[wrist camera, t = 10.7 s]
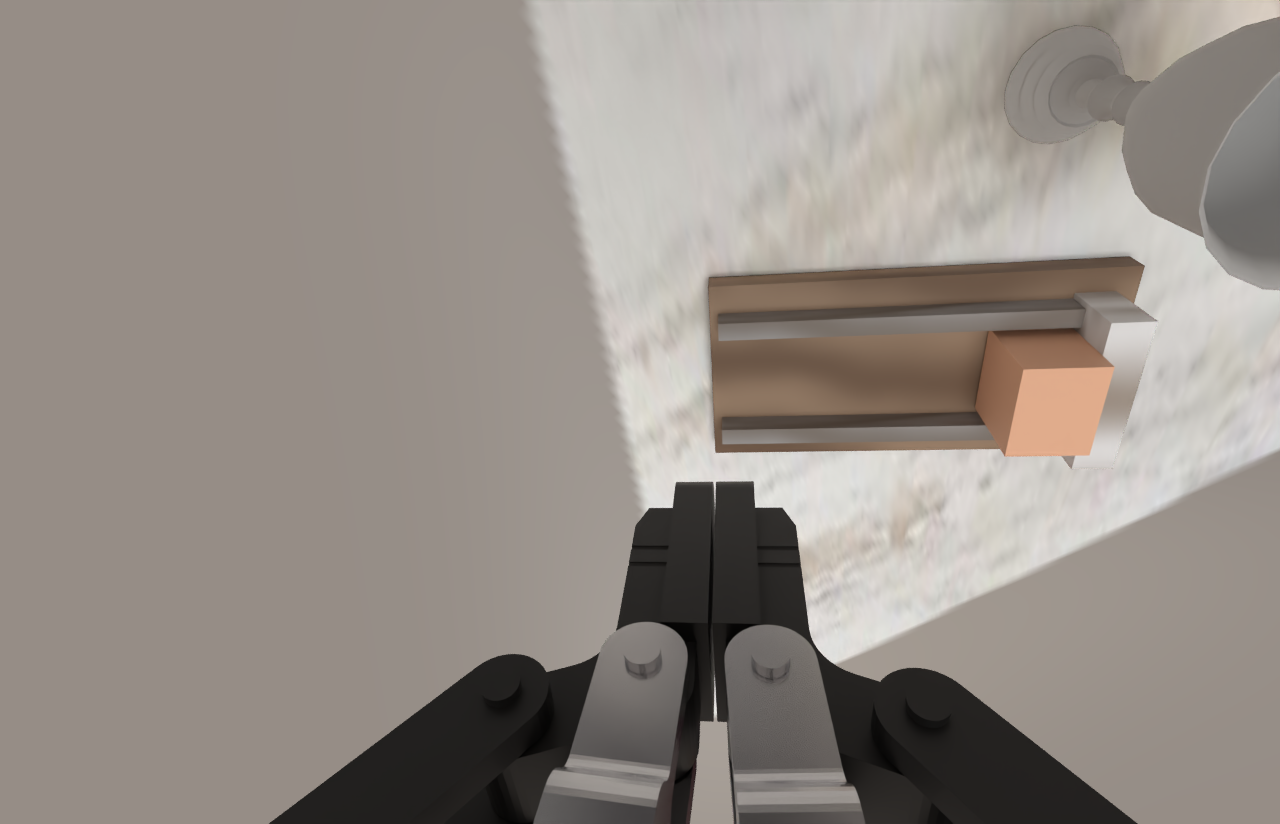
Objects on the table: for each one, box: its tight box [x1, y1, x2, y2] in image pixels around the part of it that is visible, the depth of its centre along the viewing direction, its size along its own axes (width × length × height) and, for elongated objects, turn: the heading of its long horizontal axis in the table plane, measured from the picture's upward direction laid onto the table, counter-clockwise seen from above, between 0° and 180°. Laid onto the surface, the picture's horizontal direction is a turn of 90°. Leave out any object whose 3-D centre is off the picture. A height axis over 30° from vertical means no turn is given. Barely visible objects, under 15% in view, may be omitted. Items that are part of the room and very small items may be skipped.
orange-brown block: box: [975, 328, 1115, 456], centre depth 35 cm, size 5×4×5 cm
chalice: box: [1005, 17, 1280, 290], centre depth 24 cm, size 7×7×18 cm
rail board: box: [708, 257, 1158, 469], centre depth 38 cm, size 11×22×6 cm, turn 95°
